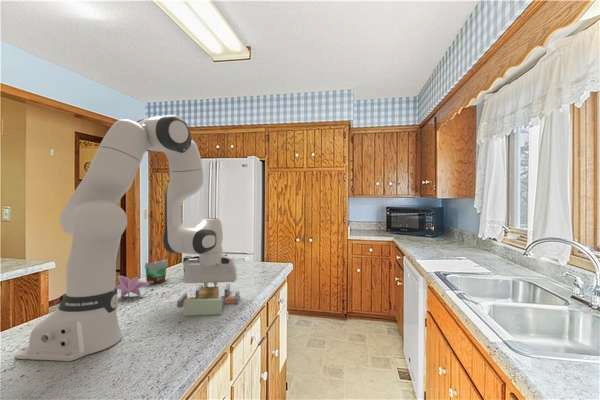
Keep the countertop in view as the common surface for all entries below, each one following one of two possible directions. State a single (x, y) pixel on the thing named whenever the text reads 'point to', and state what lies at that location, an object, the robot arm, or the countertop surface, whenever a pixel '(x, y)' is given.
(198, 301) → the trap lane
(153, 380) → the countertop surface
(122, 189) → the robot arm
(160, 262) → the food container
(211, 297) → the honey block
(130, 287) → the lily
